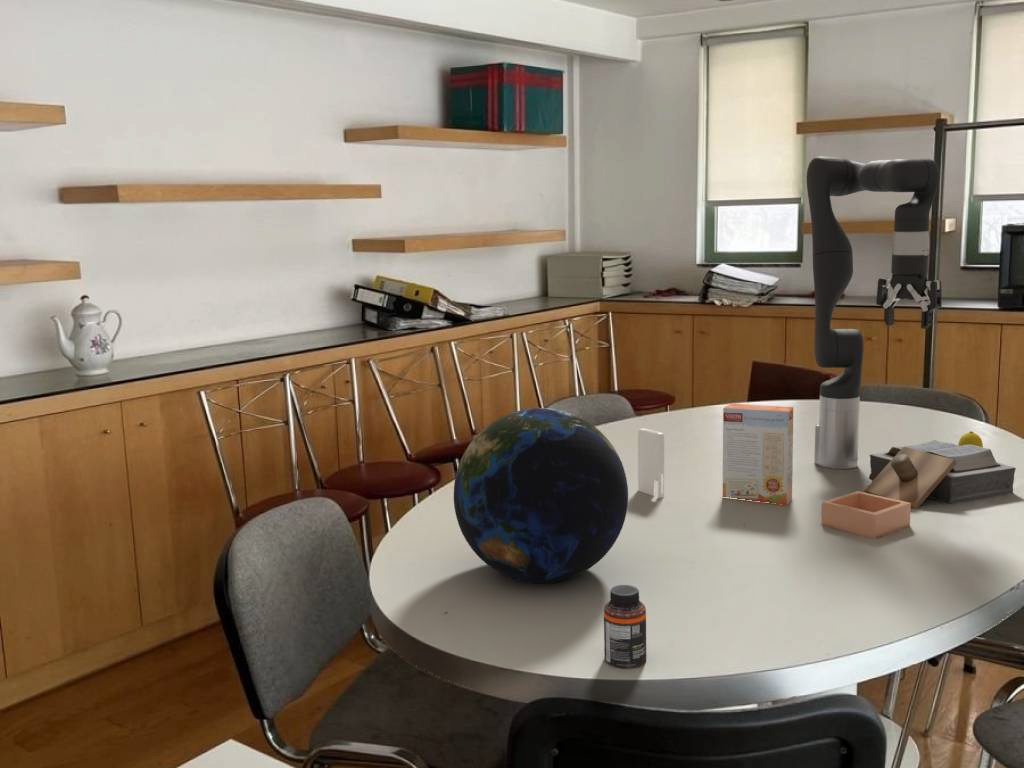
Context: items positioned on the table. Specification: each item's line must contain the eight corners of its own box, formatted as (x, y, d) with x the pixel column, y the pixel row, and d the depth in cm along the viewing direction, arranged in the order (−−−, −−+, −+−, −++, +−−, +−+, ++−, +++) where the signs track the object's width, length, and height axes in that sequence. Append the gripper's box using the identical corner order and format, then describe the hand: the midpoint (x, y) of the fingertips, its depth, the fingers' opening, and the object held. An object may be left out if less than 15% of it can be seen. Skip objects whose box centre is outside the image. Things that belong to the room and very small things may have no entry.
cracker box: (792, 500, 227) (794, 405, 224) (786, 508, 222) (788, 411, 219) (728, 494, 234) (730, 401, 230) (721, 501, 228) (722, 406, 225)
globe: (656, 596, 174) (656, 419, 169) (481, 620, 166) (476, 434, 161) (592, 542, 203) (590, 389, 198) (439, 560, 194) (433, 400, 189)
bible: (930, 509, 221) (932, 463, 219) (859, 477, 246) (860, 436, 245) (1025, 499, 226) (1028, 454, 224) (945, 469, 252) (947, 429, 250)
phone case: (637, 494, 235) (637, 428, 233) (642, 493, 236) (642, 427, 233) (659, 501, 229) (659, 434, 226) (664, 500, 230) (664, 433, 227)
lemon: (984, 466, 252) (986, 433, 251) (959, 465, 253) (961, 433, 252) (979, 461, 257) (980, 429, 256) (955, 460, 259) (956, 428, 257)
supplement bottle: (617, 653, 153) (616, 578, 151) (654, 662, 149) (654, 586, 148) (596, 668, 148) (595, 591, 146) (634, 678, 145) (633, 600, 143)
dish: (821, 526, 209) (822, 502, 208) (856, 514, 217) (857, 490, 216) (874, 540, 200) (875, 515, 199) (909, 527, 207) (910, 502, 206)
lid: (866, 494, 231) (855, 476, 229) (905, 450, 235) (895, 432, 232) (916, 509, 219) (904, 491, 217) (956, 463, 222) (945, 444, 220)
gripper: (871, 252, 231) (868, 325, 234) (931, 254, 220) (928, 331, 223) (890, 251, 236) (887, 322, 239) (950, 252, 225) (946, 327, 228)
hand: (907, 326), depth 231 cm, fingers open, 8 cm apart
